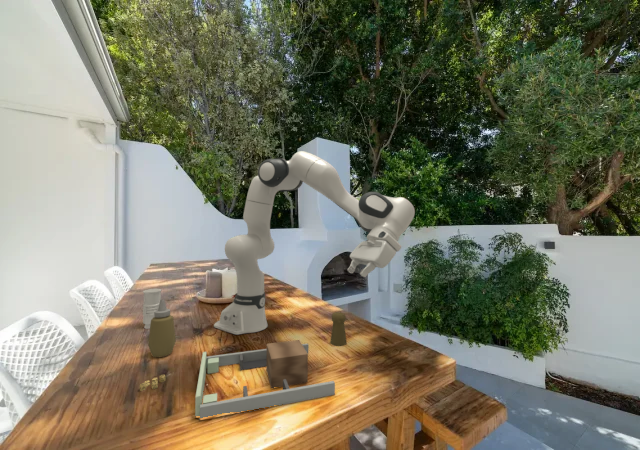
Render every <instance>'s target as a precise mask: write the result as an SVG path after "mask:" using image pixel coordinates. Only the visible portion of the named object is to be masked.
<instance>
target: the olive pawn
mask: <svg viewBox="0 0 640 450" xmlns="http://www.w3.org/2000/svg"><path fill="white" fill-rule="evenodd" d="M346 319H347V317H346V314H345V313H344V312H341V311H340V312H339V311H337V312H336V311H335V312H333V313H332V314H331V321H332V328H331V334H330V344H331V345H332V346H334V347H344V346H345V345H346V346H347V337H346V336H347V335H346V327H345V322H346Z"/></svg>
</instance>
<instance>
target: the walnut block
mask: <svg viewBox="0 0 640 450" xmlns="http://www.w3.org/2000/svg"><path fill="white" fill-rule="evenodd" d="M302 344H303V343H302V342H301V340H300V339H297V340H287V341H286V340H285V341H279V342H272V343H270V342H269V343H266V349H267V356H266V367H265V368H266V374H267V378H268V382H269V386H270V389H271V388H273V389H275V388H274V387H279V388H283V380H284V379H286V381H287V383H288V386H289V387H290V386H296V385H300V384H307V383H306V382H308V380H309V379H308V373H309V372H308V369H309V368H308V367H309V361H308V360H309V353H308V354H307V352H306V350H305V349H304V347H303V345H302Z"/></svg>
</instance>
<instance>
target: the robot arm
mask: <svg viewBox="0 0 640 450" xmlns="http://www.w3.org/2000/svg"><path fill="white" fill-rule="evenodd" d="M303 183H304V184H306V185H307V186H308V187H310V188H312V189H314V191H316V192H318V193H320V194H321V195H322V196H324V197H326V198H327V199H328V200H329V201H332V202H333V203H334V204H335V205H336V206H338V207H339V208H340V209H341V210H343V211H344V212H346V213H347V214H348V215H350V216H351V217H352V218H354V219H355V221H356V223H358V225H359V226H360V228H361V229H362V230H363V231H364V232H367V233H368V234H367V236H366V240H363V241H361V242H360V243H359V244H358V245H357V246H356V247H355V248H354V249H353V250H352V251H351V253H350V254H349V258H350V259H351V262H350V265H349V267H348V268H347V272H348V273H350V274H354V273H355V272H356V268H357V266H359V265H365V267H364V268H362V269H361V271H360V272H359V275H360V276H361V277H363V278H366V277H367V276H368V275H369V274H370V273H372V272H373V271H374V270H375V269H376V268H379V269H384V268H385V267H386V266H388V265H389V264H390V262H391V261H392V260H393V258H394V257H395V256H396V253H397V252H400V251H401V249H402V247H403V246H402V245H401V244H400V243H399V242H398V241H399V239H400V236H401V235H402V234H404V232H406V231H407V229H408V228H409V226H410V225H411V223H412V222H413V220H414V218H415V213H416V210H415V207H414V205H413V204H412V202H411V201H409V200H408V199H407V198H405V197H403V196H402V197H401V196H399V197H392V196H387V195H383V194H382V193H380V192H377V191H369V192H368V191H367V192H365V193H364V194H363V195H361V197H360V198H359V199H358V198H356V197H355V196H354V195H352V194H350V193H349V192H348V190H347V189H346V188H345V186H344V184H343V182H342V180H341V178H340V175H339V173H338V171H337V169H336V168H335V167H334V166H333V165H332V164H331V163H330V162H328V161H326V160H325V159H323V158H321V157H319V156H317V155H315V154H314V153H313V154H312V153H310V152H308V151H304V150H300V151H297V152H296V153H294V154H292V157H291V158H290V159H289V160H286V159H285V158H282V157H281V158H267V159H265V160H263V161H262V162H261V163H260V164H259V166H258V169H257V175H256V176H254V177H253V178H252V180H251V182H250V185H249V187H248V191H247V194H246V195H247V196H246V199H245V203H244V204H245V205H244V208H243V209H244V210H243V216H242V218H243V220H244V222H245V223H246V225H247V234H239V235H236V236H235V235H234V236H233V237H230V238H229V239H227V240H226V242H225V244H224V253H225V254H224V255H225V256H226V258H227V259H228V260H230V261H231V263H232V265H233V266H234V269H235V273H236V291H237V292H236V293H235V294H233V295H231V299H233V301H232V303H230V304H229V305H227V306H226V307H225V308H224V309H223V310H222V311H221V314H220V315H219V320H217V321H216V322H215V323H214V324H213V328H215V329H218V330H220V331H224V332H226V333H230V334H232V335H243V334H250V333H251V334H252V333H257V332H260V331H264V330H265V329H266V328H268V327H269V325H268V322H267V318H266V317H267V316H266V308H265V305H266V292H265V274H264V272H263V271H261V270H260V267H259V264H258V260H260V259H264V258H266V257H268V256H270V255H271V254H272V253H274V250H275V241H274V239H273V238H272V236H271V218H272V212H273V205H274V201H275V197H276V194H277V193H278V192H279V191H280V192H282V193H284V192H292V191H296V190H298V189H299V188H301V186H302V185H303Z"/></svg>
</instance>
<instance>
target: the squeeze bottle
mask: <svg viewBox="0 0 640 450" xmlns="http://www.w3.org/2000/svg"><path fill="white" fill-rule="evenodd" d="M165 300H166V299H165V298H163V299H162V298H161V300H160V304H159V308H158V310H156V311H155V312H154V318H153V319H152V320H151V324H150V329H149V334H148V342H147V346H148V349H149V351H150V354H151V356H152V357H153V358H163V357H166V356H168V355H170V354H171V353H173V350H174V347H175V344H176V340H177V339H176V331H175V322H174V317H173V315H172V314H171V309H170V308H168V307H167V305H166V301H165Z"/></svg>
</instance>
